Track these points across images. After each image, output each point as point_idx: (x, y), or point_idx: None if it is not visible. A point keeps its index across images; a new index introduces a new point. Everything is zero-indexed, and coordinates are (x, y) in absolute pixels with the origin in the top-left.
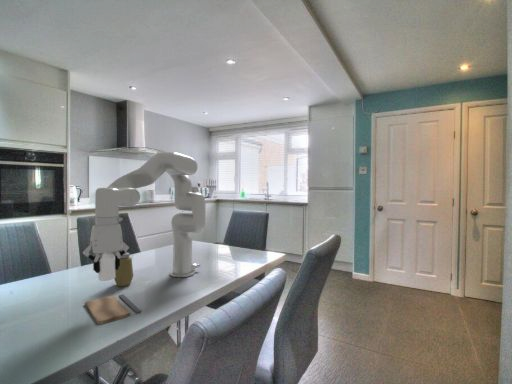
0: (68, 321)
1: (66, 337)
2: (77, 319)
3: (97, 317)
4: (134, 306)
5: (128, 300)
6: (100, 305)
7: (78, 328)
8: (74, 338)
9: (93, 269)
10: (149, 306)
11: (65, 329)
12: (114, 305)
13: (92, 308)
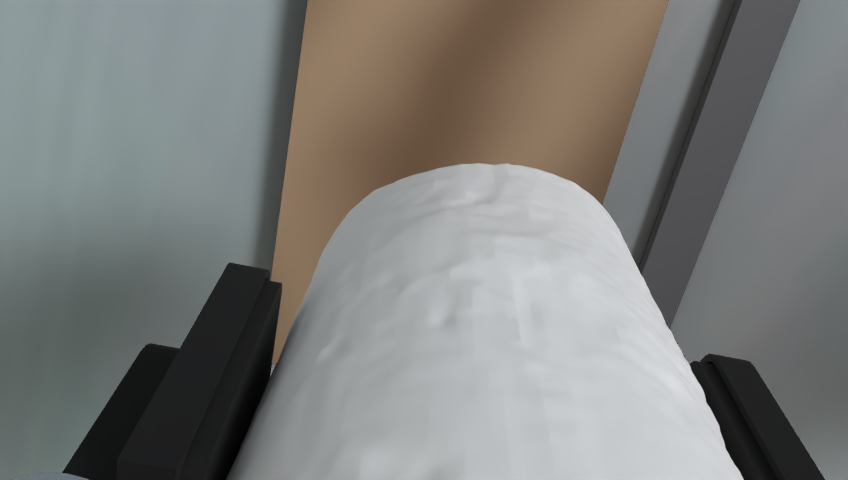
0: (75, 69)
1: (15, 348)
2: (156, 96)
3: (284, 280)
4: (665, 298)
5: (744, 103)
6: (435, 12)
7: (119, 281)
8: (61, 402)
9: (149, 355)
10: (765, 370)
11: (27, 215)
12: (538, 148)
13: (332, 25)
